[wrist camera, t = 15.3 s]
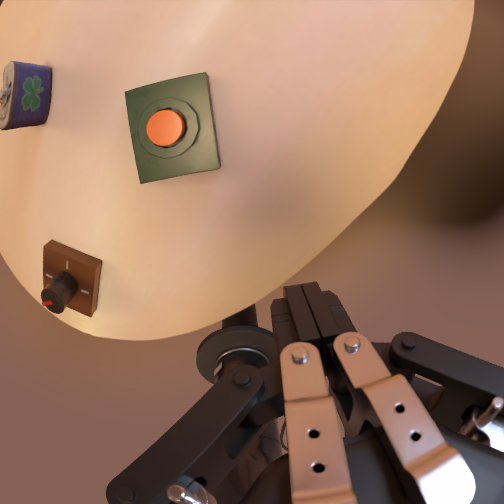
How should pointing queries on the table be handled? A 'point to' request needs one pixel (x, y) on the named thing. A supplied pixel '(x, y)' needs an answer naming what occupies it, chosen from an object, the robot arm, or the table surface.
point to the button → (165, 127)
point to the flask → (25, 95)
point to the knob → (59, 292)
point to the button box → (195, 135)
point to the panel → (74, 274)
